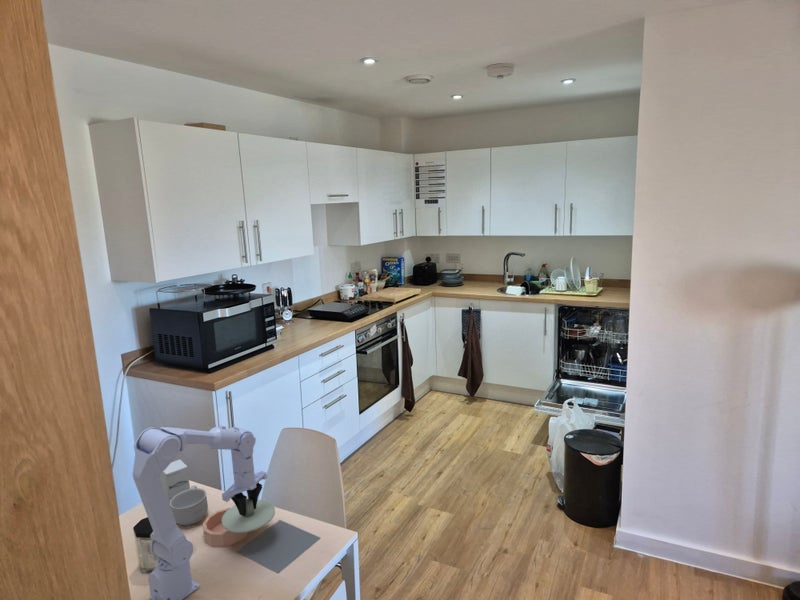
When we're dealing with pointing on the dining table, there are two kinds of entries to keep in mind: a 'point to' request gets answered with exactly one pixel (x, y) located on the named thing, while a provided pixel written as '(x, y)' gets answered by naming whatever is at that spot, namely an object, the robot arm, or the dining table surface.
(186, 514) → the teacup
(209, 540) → the bowl
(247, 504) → the cover
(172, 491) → the supplement box
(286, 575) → the dining table surface
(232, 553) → the dining table surface
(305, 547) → the mat
